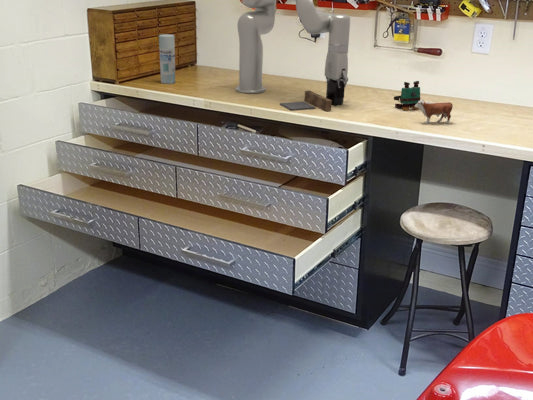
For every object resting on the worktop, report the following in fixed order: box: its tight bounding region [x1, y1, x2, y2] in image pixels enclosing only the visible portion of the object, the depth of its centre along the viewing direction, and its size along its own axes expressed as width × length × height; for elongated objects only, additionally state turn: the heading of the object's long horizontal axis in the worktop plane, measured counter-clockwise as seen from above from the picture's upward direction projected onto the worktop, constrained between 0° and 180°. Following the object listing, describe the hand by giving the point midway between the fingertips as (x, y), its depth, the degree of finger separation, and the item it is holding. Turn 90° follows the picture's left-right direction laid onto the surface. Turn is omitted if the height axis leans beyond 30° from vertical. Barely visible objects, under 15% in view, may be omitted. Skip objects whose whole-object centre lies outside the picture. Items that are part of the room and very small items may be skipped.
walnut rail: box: [303, 90, 333, 112], centre depth 241 cm, size 18×2×4 cm, turn 24°
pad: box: [279, 101, 316, 111], centre depth 239 cm, size 10×10×1 cm
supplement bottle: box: [325, 78, 345, 106], centre depth 243 cm, size 7×7×12 cm
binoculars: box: [393, 80, 421, 111], centre depth 241 cm, size 9×11×10 cm
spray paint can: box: [158, 33, 176, 85], centre depth 272 cm, size 6×6×20 cm
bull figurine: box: [415, 98, 453, 125], centre depth 221 cm, size 4×13×8 cm, turn 95°
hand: (335, 95), depth 244 cm, fingers closed on supplement bottle, 6 cm apart
